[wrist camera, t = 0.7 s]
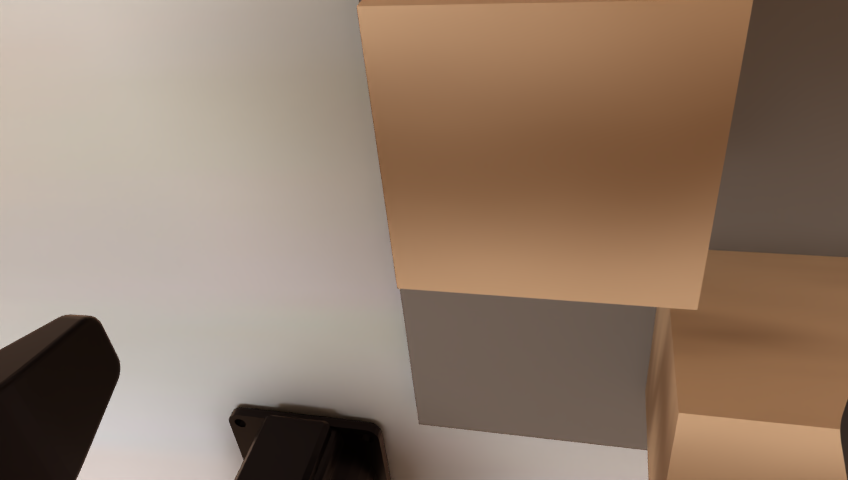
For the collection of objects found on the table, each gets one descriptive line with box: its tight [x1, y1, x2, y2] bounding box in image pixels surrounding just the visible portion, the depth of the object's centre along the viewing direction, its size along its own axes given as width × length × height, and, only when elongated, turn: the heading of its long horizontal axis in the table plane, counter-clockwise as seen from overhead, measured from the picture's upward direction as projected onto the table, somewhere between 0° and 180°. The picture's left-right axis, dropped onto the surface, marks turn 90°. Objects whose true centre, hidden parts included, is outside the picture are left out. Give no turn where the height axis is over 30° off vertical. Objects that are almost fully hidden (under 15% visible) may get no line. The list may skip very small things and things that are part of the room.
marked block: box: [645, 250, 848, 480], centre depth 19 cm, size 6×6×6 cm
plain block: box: [357, 0, 753, 310], centre depth 15 cm, size 6×6×6 cm
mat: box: [359, 0, 848, 450], centre depth 17 cm, size 30×16×1 cm, turn 5°
